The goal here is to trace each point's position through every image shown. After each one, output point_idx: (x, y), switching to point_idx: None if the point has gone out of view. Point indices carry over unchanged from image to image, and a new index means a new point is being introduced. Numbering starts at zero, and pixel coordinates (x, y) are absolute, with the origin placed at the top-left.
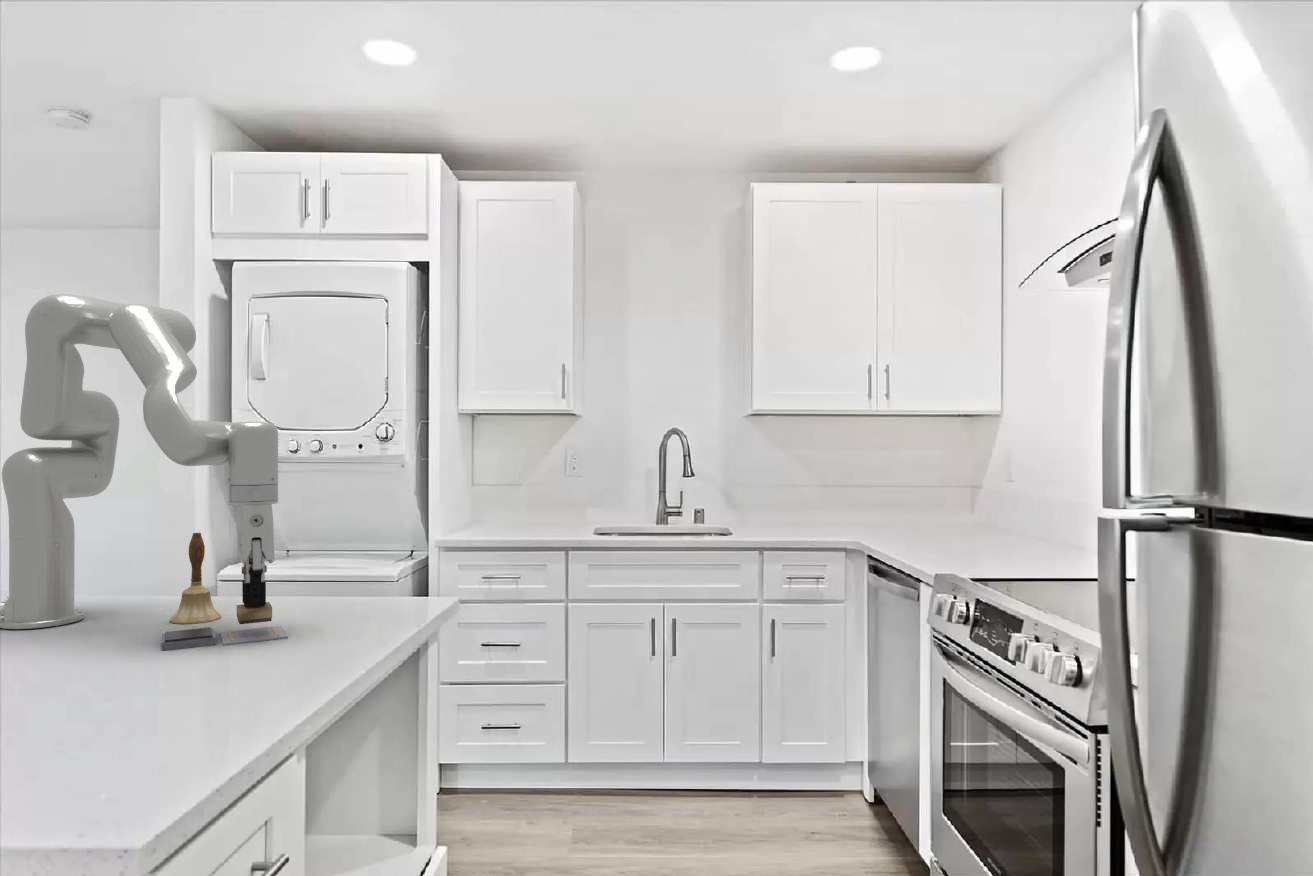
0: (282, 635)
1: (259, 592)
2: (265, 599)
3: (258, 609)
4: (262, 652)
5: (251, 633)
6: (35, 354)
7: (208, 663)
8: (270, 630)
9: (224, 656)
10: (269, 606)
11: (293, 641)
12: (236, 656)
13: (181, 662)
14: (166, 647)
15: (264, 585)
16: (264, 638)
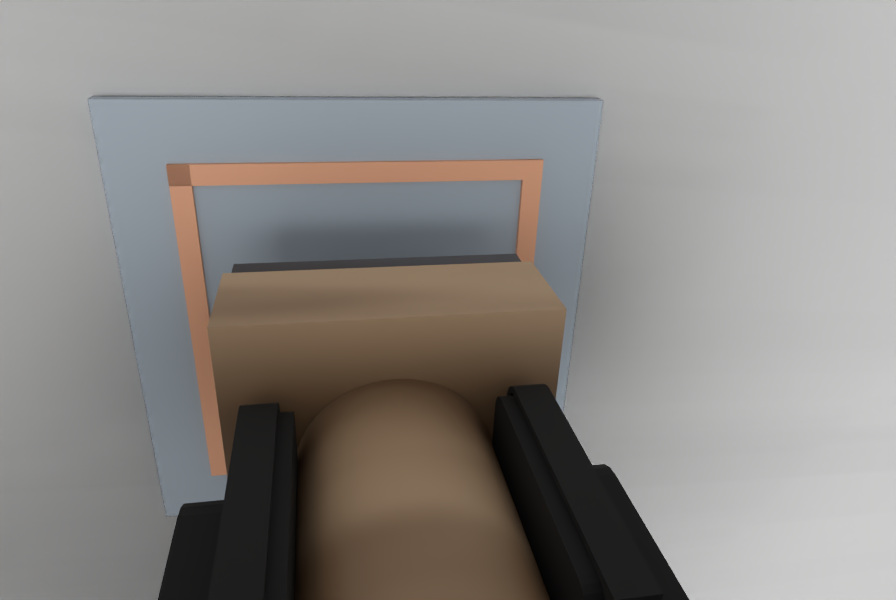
0: (549, 135)
1: (644, 542)
2: (561, 418)
3: None
4: (874, 282)
5: None
6: None
7: (885, 499)
8: (292, 205)
9: (808, 449)
10: (523, 332)
11: (727, 70)
12: (854, 401)
13: (779, 590)
14: None
15: (636, 561)
16: (571, 263)
